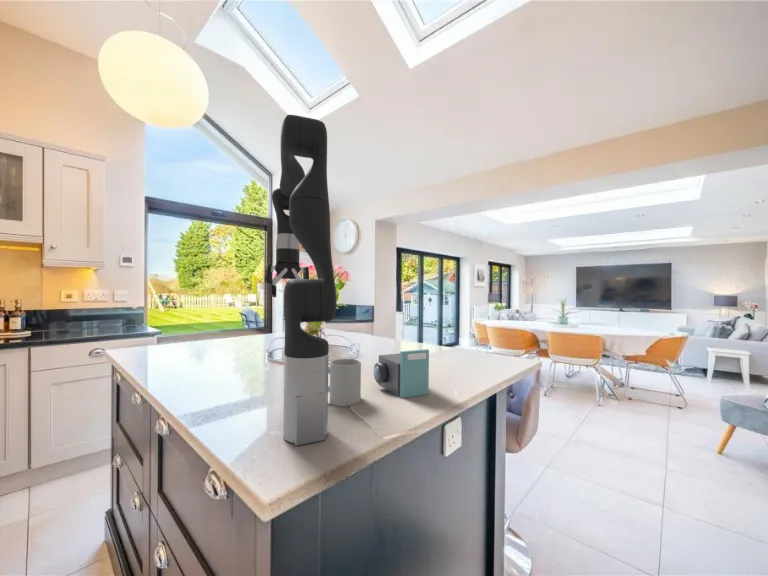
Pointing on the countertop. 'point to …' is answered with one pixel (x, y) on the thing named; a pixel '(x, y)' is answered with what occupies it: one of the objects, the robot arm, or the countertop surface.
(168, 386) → the countertop surface
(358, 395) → the mug
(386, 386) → the camera box
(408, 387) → the side door
